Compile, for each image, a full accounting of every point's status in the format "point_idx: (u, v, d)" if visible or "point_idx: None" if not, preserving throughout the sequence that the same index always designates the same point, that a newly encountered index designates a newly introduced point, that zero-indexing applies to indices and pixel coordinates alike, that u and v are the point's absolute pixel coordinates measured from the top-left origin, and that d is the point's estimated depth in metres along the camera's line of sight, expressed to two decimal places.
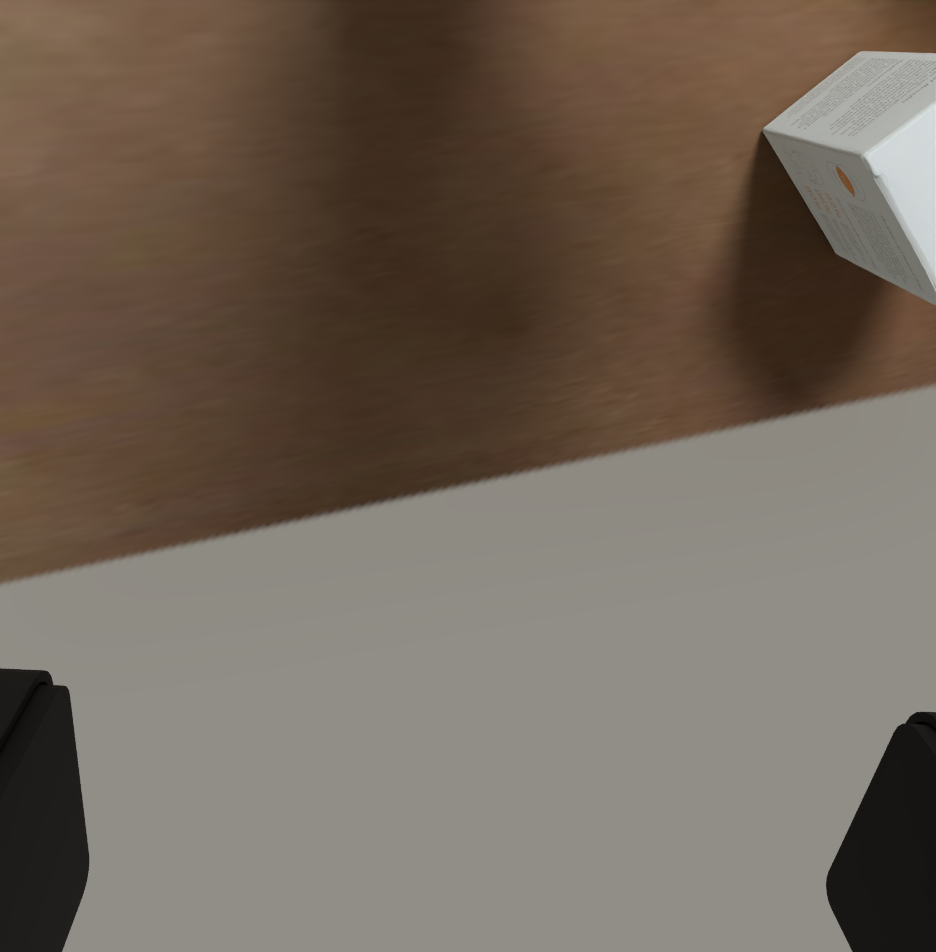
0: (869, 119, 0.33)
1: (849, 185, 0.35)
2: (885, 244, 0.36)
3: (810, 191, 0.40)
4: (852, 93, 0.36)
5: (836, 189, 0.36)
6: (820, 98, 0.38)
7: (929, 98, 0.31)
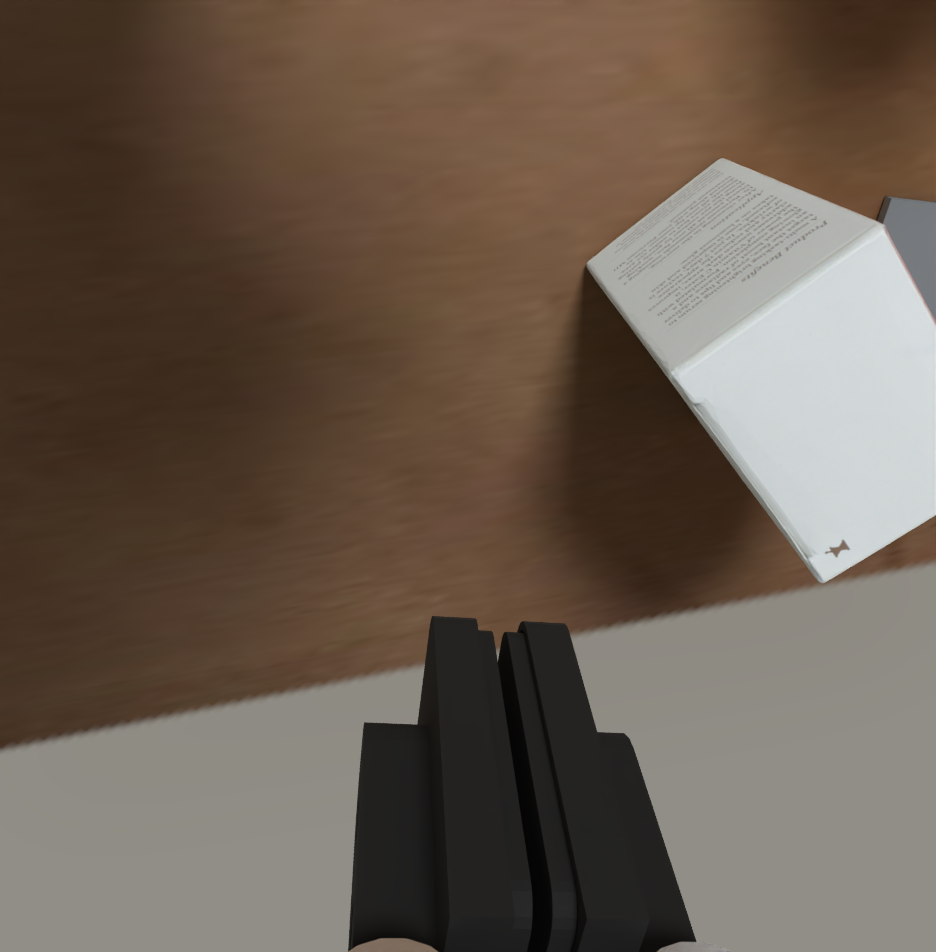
0: (696, 299, 0.21)
1: None
2: (736, 470, 0.23)
3: None
4: (691, 236, 0.24)
5: None
6: (656, 232, 0.26)
7: (777, 285, 0.19)
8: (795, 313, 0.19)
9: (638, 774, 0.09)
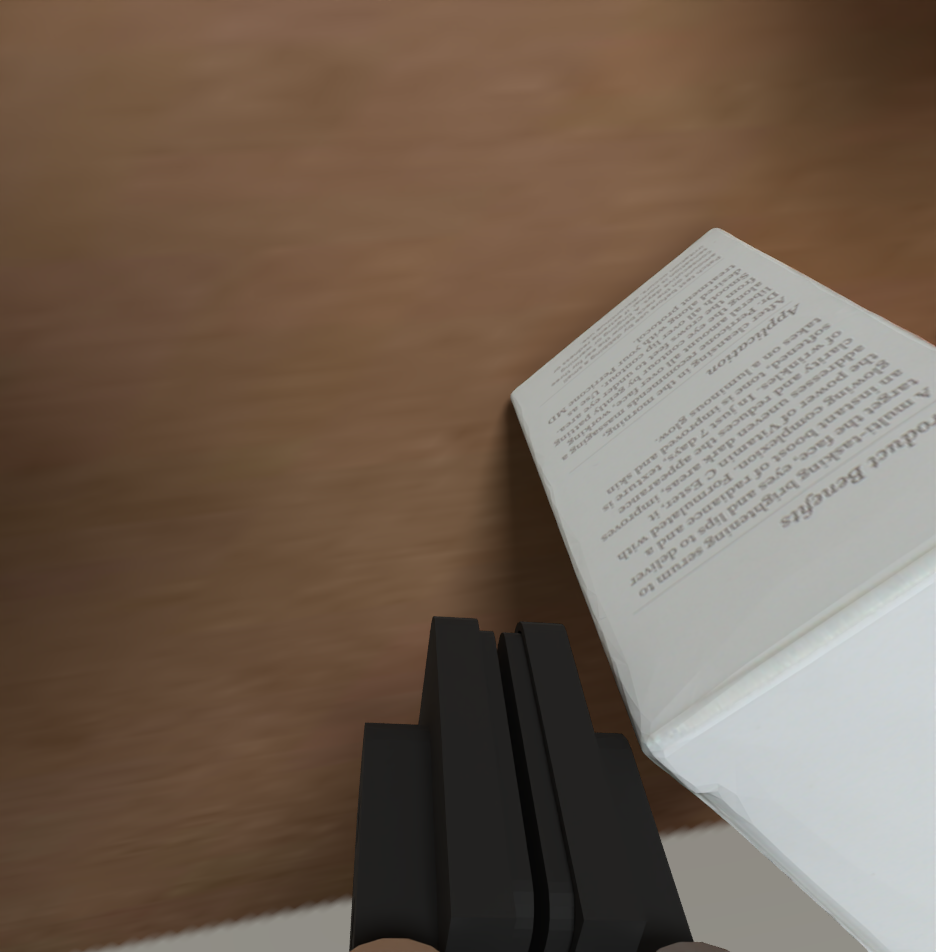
0: (691, 544, 0.11)
1: None
2: None
3: None
4: (673, 381, 0.14)
5: None
6: (614, 358, 0.16)
7: (868, 563, 0.09)
8: (913, 629, 0.08)
9: (636, 774, 0.09)
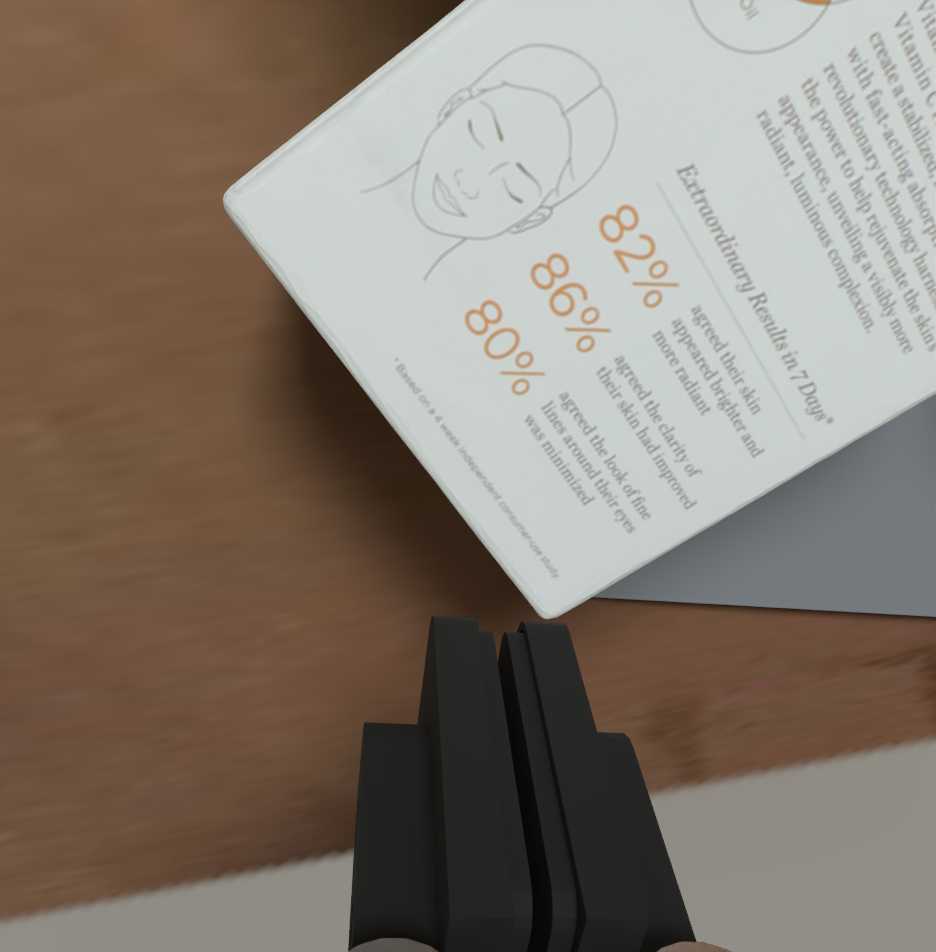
0: None
1: None
2: None
3: (490, 323, 0.11)
4: None
5: (703, 92, 0.10)
6: None
7: None
8: None
9: (638, 775, 0.09)
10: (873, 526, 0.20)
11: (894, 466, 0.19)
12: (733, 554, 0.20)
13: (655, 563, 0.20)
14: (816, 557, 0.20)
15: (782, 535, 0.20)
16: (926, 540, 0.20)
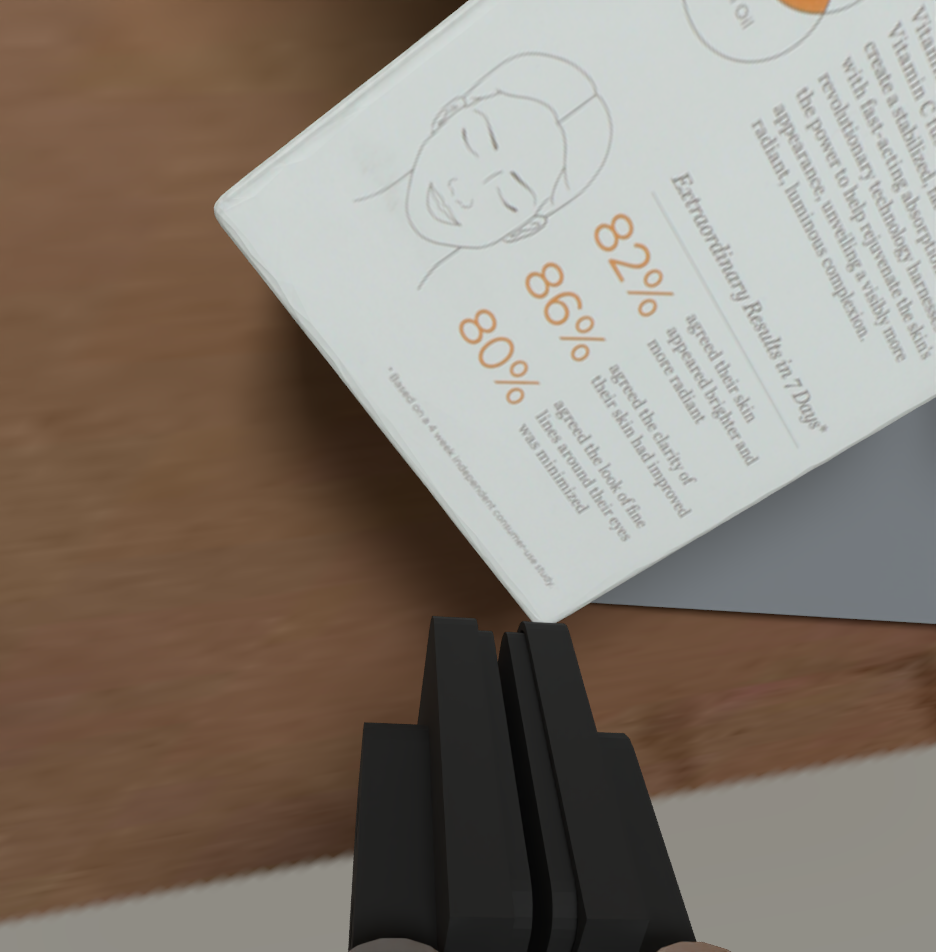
0: None
1: None
2: None
3: (485, 332, 0.11)
4: None
5: (698, 101, 0.10)
6: None
7: None
8: None
9: (638, 774, 0.09)
10: (866, 532, 0.20)
11: (887, 472, 0.19)
12: (726, 560, 0.20)
13: (647, 569, 0.20)
14: (810, 563, 0.20)
15: (774, 541, 0.20)
16: (919, 546, 0.20)
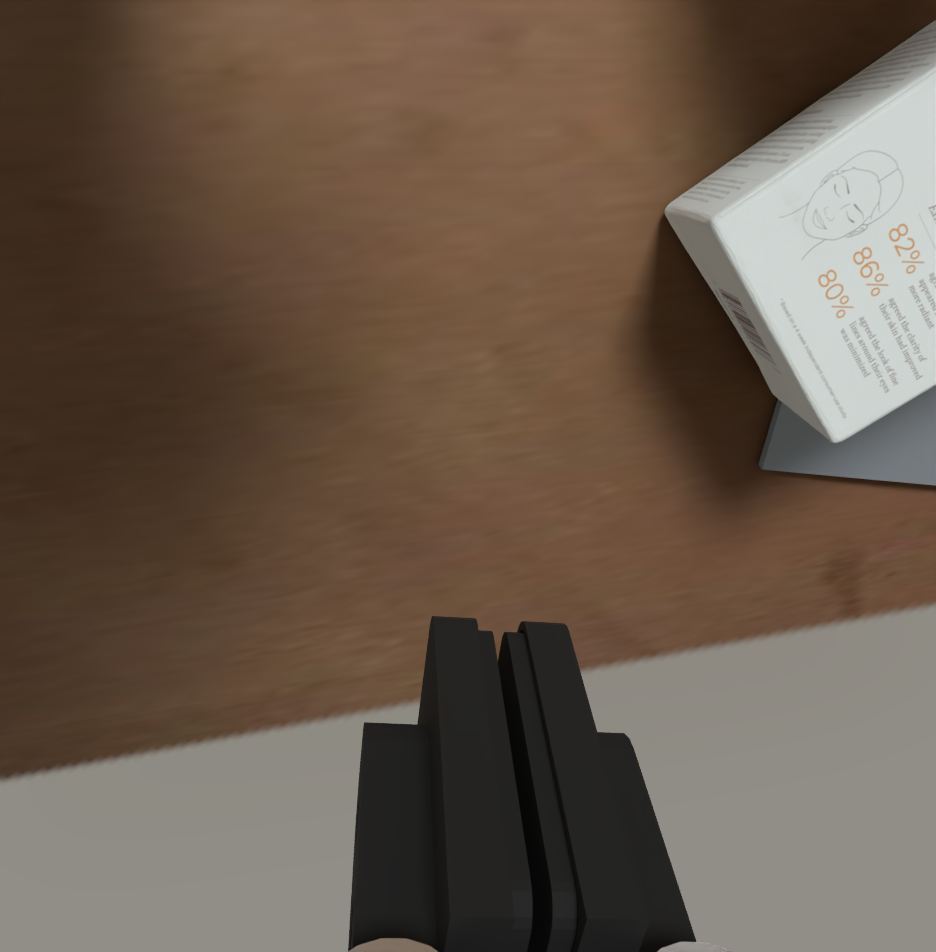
0: None
1: None
2: None
3: (830, 281, 0.23)
4: (812, 122, 0.24)
5: None
6: (754, 166, 0.24)
7: None
8: None
9: (638, 773, 0.09)
10: None
11: None
12: (894, 446, 0.32)
13: (845, 451, 0.32)
14: None
15: (926, 433, 0.31)
16: None
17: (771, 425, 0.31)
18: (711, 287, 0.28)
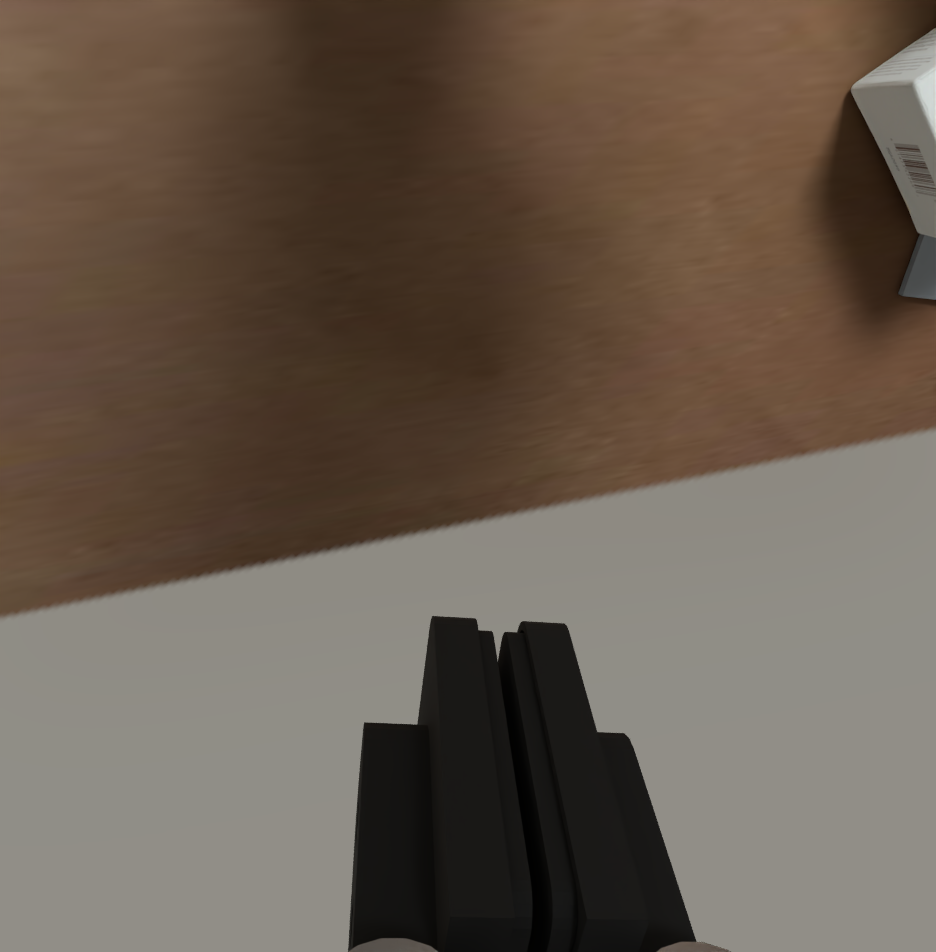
0: None
1: None
2: None
3: None
4: None
5: None
6: (934, 48, 0.34)
7: None
8: None
9: (638, 774, 0.09)
10: None
11: None
12: None
13: None
14: None
15: None
16: None
17: (911, 260, 0.41)
18: (883, 146, 0.38)
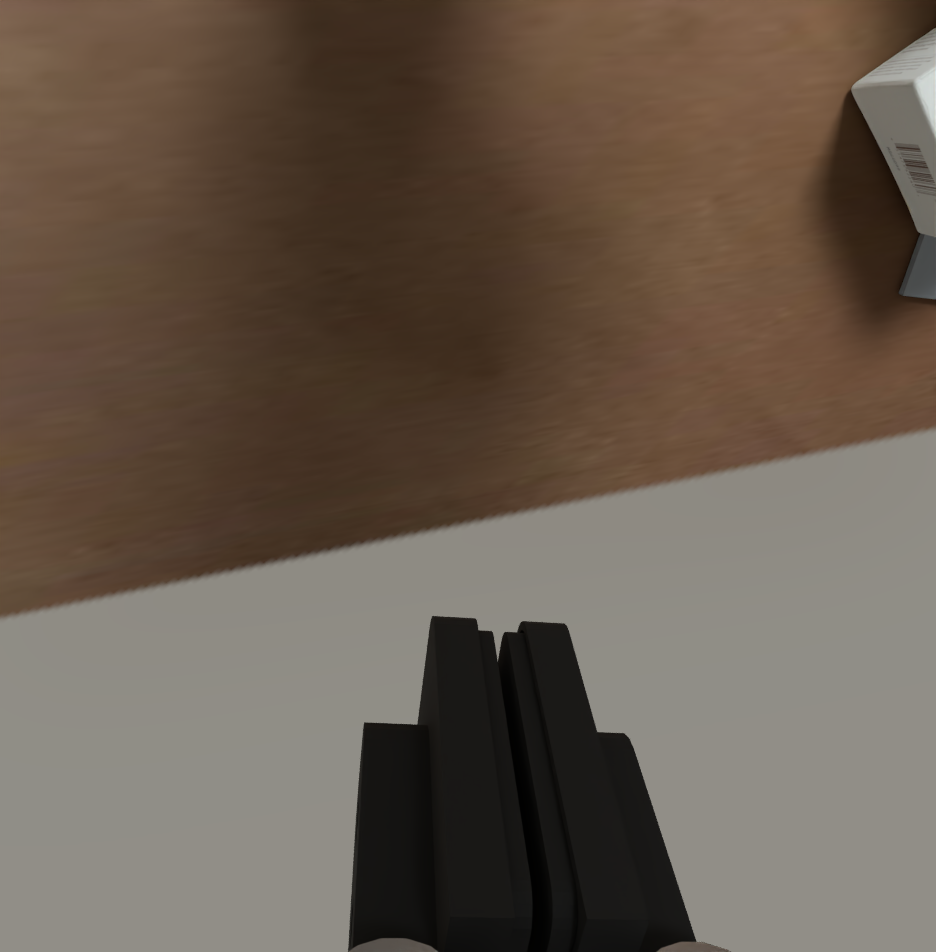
0: None
1: None
2: None
3: None
4: None
5: None
6: (934, 47, 0.34)
7: None
8: None
9: (638, 774, 0.09)
10: None
11: None
12: None
13: None
14: None
15: None
16: None
17: (911, 260, 0.41)
18: (883, 146, 0.38)
